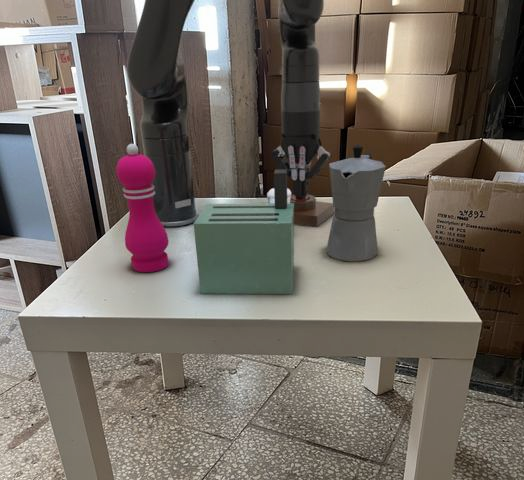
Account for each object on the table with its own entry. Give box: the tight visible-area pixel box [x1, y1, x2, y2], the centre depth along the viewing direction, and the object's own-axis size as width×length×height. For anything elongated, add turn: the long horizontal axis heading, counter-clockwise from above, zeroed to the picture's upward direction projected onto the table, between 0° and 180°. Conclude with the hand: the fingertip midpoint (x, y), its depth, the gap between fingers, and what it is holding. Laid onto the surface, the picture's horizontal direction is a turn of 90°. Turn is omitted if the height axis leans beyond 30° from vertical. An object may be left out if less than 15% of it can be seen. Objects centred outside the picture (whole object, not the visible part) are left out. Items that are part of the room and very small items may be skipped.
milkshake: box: [266, 187, 292, 203], centre depth 99 cm, size 4×5×10 cm
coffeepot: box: [326, 144, 387, 263], centre depth 88 cm, size 15×9×18 cm, turn 157°
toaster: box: [192, 202, 295, 295], centre depth 80 cm, size 14×10×11 cm
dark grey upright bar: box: [273, 168, 288, 208], centre depth 78 cm, size 2×2×5 cm
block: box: [291, 194, 335, 228], centre depth 110 cm, size 12×10×4 cm
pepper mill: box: [115, 143, 170, 273], centre depth 85 cm, size 7×7×20 cm
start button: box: [291, 196, 308, 201], centre depth 110 cm, size 4×4×2 cm
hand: (300, 197), depth 109 cm, fingers closed
